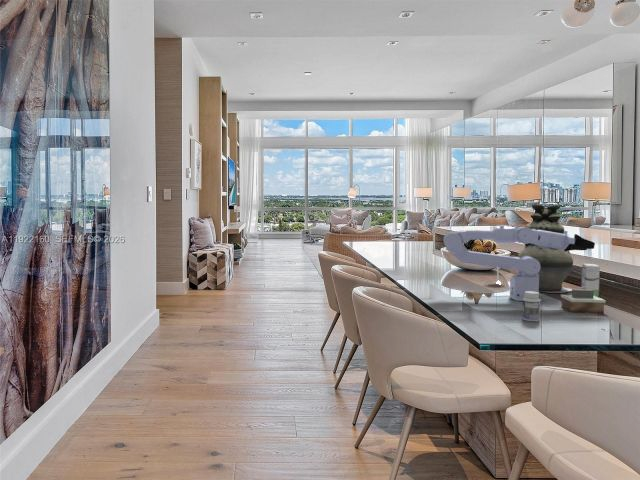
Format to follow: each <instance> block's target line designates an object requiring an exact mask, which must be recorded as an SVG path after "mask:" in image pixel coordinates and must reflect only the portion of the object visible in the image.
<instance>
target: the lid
mask: <svg viewBox="0 0 640 480" xmlns="http://www.w3.org/2000/svg"><path fill="white" fill-rule="evenodd" d="M571 289H572V291H571V294H560V298H561V299H562V298H564V299H566V300H568V301H570V302H597V303H604V304H606V301H607V300H605V299H603V298H602V297H599V296H598V297H597V296H593V294H594V291H593V290H585V289H578V288H577V289H574V288H571Z"/></svg>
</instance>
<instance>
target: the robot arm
mask: <svg viewBox="0 0 640 480" xmlns="http://www.w3.org/2000/svg"><path fill="white" fill-rule="evenodd" d="M442 240H443V243H444V246H445V248H446V250H447V252H449V254H451V255H452V256H453V257H454V258H455V259H456V260H457V261H459V262H460V263H462V264H470V265H476V266H477V265H479V266H485V267H492V268H496V267H498V268H500V269H506V270H511V271H516V272H517V274H513V275H511V276H510V281H509V282H510V283H509V298H510V299H513V300H514V301H519V302H523V299H524V298H525V291H535V292H539V274H538V272H539V271H540V268H541V266H540V263H539V261H538V260H536V259H534V258H532V257H530V256H523V257H518V256H509V255H501V254H496V253H495V254H494V253H487V252H480V251H473V250H468V249H467V247H466V246H465V245H464V244H467V242H469V241H471V240H472V241H473V240H493V241H494V242H495V243H496V244H497V243H498V244H500V243H503V244H515V243H516V242H517V243H520V244H521V243H522V244H524V245H525V244H527V243H531V244H535V245H538V246H544V247H549V248H555V249H560V250H563V251H564V252H565V251H569V252H571V251H587V250H592V249H595V243H596V242H593V241H591V240H589V239H586V238H584V237H582V236H580V235H578V234H576V233H574V236H573V237H571V236H569V234H568V231H567V230H564V233H563V234H561V233H555V232H550V231H544V230H536V229H530V228H528V227H526V226H517V225H514V226H513V227H512V226H510V227H509V226H504V225H499V226H497V227H495V228H494V229H493V230H480V229H479V230H476V229H464V230H457V231H449V232H446V233H445V234H444V236H443V239H442ZM539 293H540V292H539ZM538 299H540V302H543V299H541V298H540V297H539V298H538Z"/></svg>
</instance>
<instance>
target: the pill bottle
mask: <svg viewBox="0 0 640 480" xmlns="http://www.w3.org/2000/svg"><path fill="white" fill-rule="evenodd" d="M538 298H539V299H538ZM540 299H541V298H540V292H535V291H525V298H524V299H523V301H522V320H524V321H526V322H538V321H540V315H541V314H540V313H541V312H540V311H541V301H540Z"/></svg>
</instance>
